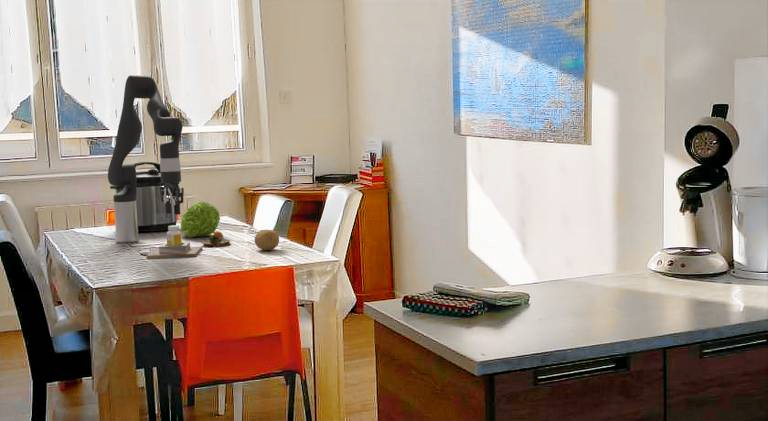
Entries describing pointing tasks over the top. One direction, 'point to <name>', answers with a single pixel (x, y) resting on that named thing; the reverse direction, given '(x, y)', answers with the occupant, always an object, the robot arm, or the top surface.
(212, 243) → the floral bowl
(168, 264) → the top surface
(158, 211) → the pressure cooker
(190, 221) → the lettuce
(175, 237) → the supplement bottle
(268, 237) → the potato
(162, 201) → the robot arm
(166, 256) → the brown board with frame
